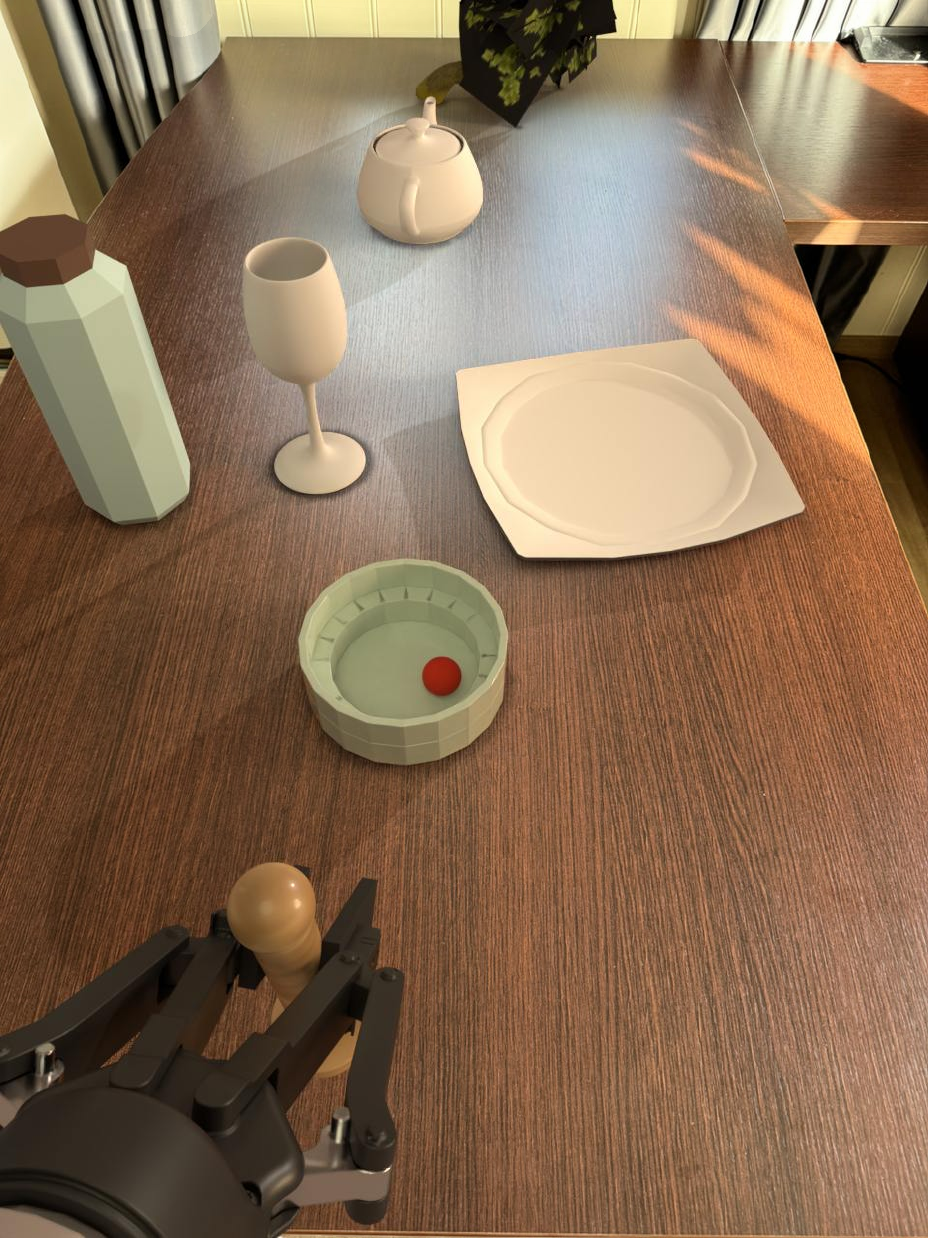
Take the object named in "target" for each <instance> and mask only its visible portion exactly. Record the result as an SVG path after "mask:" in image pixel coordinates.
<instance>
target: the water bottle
mask: <svg viewBox="0 0 928 1238" xmlns="http://www.w3.org/2000/svg"><path fill="white" fill-rule="evenodd" d="M0 270H1V275H0V326H1V328H2V330H3V332H4V335H5V337H6V339H7V341H8V343H9V345H10V347H11V350H12V352H13V354H14V356H15V358H16V360H17V362H18V364H19V367H20V369H21V371H22V373H23V375H24V377H25V379H26V382H27V383H28V386H29V388H30V390H31V392H32V394H33V396H34V398H35V400H36V403H37V405H38V407H39V410H40V411H41V413H42V416H43V418H44V420H45V422H46V425H47V426H48V428H49V430H50V433H51V435H52V437H53V439H54V442H55V444H56V445H57V447H58V450H59V452H60V454H61V456H62V458H63V460H64V463H65V465H66V467H67V470H68V471H69V473H70V475H71V478H72V479H73V483H74V484H75V486H76V488H77V490H78V493H79V495H80V497H81V499H82V501H83V503H84V505H86V506H87V507H89V508H90V509H92V510H94V511H95V512H97V513H98V514H100V515H102V516H104V517H105V518H106V519H108V520H110V521H111V522H113V523H115V524H118V525H120V526H127V525H135V524H142V523H151V522H159V521H160V520H161V519H163V518H164V517H165V516H166V515H168V514H169V513H170V512H172V511H173V510H174V509H175V508H177V507H178V506H179V505H180V504H182V503H183V502H184V501H185V500H186V498H187V497H188V495H189V493H190V483H191V482H190V481H191V463H190V459H189V455H188V453H187V450H186V447H185V443H184V441H183V436H182V434H181V430H180V428H179V424H178V422H177V419H176V415H175V412H174V410H173V407H172V403H171V400H170V397H169V393H168V390H167V387H166V384H165V381H164V379H163V375H162V373H161V368H160V366H159V363H158V360H157V357H156V354H155V350H154V348H153V344H152V341H151V338H150V335H149V333H148V329H147V325H146V323H145V320H144V315H143V313H142V310H141V308H140V305H139V300H138V298H137V295H136V292H135V288H134V284H133V282H132V279H131V277H130V272H129V270H128V267H127V265H125V264H124V263H121V262H120V261H118V260H116V259H115V258H113V257H111V256H109V255H107V254H105V253H103V252H101V251H99V250H97V249H96V246H95V242H94V239H93V236H92V232H91V228H90V225H89V224H88V223H86V222H84V221H81V220H79V219H78V218H75V217H73V216H71V215H68V214H66V213H61V214H59V213H58V214H48V215H37V216H28V217H25V218H24V219H22V220H20V221H18V222H16V223H14V224H12V225H10V226H8V227H7V228H4V229H2V230H0Z"/></svg>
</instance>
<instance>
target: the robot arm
mask: <svg viewBox="0 0 928 1238" xmlns="http://www.w3.org/2000/svg"><path fill="white" fill-rule="evenodd" d="M293 867H295V868H296V869H298V870H299V871H300V872H302V873H303V874H304V875H305V876H306V878H307V879H308V880H309V881H310V876H311V875H310V874H311V867H310V866H305V865H301V864H295V865H294V866H293ZM378 882H379V880H378V879H375V878H369V877H361V878H360V880H359V882H358V883H357V885H356V887H354V889H353V891H352V892H351V894H350V896H349V898H348V899H347V900H346V902H345V904H344V905H343V906H342V908H341V910H340V911H339V913H338V915H337V916H336V918H335V919H334V921H333V922H332V924H331V926H330V927H329V929H328V930H327V932H326V934H325V935H324V937H323V938H322V946H321V958H320V962H319V971H318V973H317V974H316V976H315V977H314V978H313V979H312V980H311V981H310V982H309V983H308V984H307V986H306V987H305V988H304V989H303V990H302V991H301V992H300V993H299V994H298V996H297V997H296V998H295V999H294V1000H293V1001H292V1002H291V1003H290V1004H289V1006H288V1007H287V1008H286V1009H285V1010H284V1011H283V1012H282V1013H281V1014H280V1016H279V1017H278V1018H277V1019H276V1020H275V1021H274V1022H273V1023H272V1025H271V1026H270V1025H269V1027H268V1028H266V1030H265V1031H264V1032H263V1033H261V1032H259V1031H254V1032H252V1033H251V1034H250V1035H249V1036H248V1037H247V1038H246V1039H245V1040H244V1042H243V1043H241V1045H240V1046H239V1047H238V1048H237V1049H236V1050H235V1051H234V1052H233V1054H232V1055H231V1056H229V1058H228V1059H221V1058H219V1059H216V1058H208V1057H206V1056H204V1055H203V1053H204V1052H205V1050H206V1047H207V1045H208V1044H209V1042H210V1039H211V1037H212V1035H213V1033H214V1032H215V1029H216V1027H217V1025H218V1023H219V1021H220V1019H221V1017H222V1015H223V1013H224V1011H225V1009H226V1007H227V1004H228V1003H229V1001H230V999H231V997H232V994H233V993H234V986H235V980H236V979H237V988H242V989H246V990H251V991H256V990H257V989H258V987H259V985H260V984H261V982H262V981H263V980H264V979H265V977H266V975H265V973H264V971H263V969H262V968H261V966H260V964H259V962H258V960H257V958H256V957H255V955H254V953H253V951H252V950H250V949H248V948H246V947H245V946H243V945H242V944H241V943H240V942H239V941H238V940H237V939H236V937H235V936H234V935H233V933H232V931H231V929H230V926H229V924H228V919H227V908H222V909H217V910H213V911H212V913H210V921H209V922H210V923H209V930H208V931H209V932H208V933H207V934H206V936H204V937H203V936H202V937H193V936H192V937H191V930H190V929H189V928H188V927H185V926H183V925H179V924H171V925H168V926H164V927H163V928H160V929H159V930H158V931H157V932H155V933H154V934H152V935H151V936H149V938H147V939H145V941H143V942H142V943H141V944H139V945H137V946H136V947H135V948H134V949H132V950H131V951H130V952H128V953H127V954H126V955H124V956H123V957H122V958H121V959H120V960H118V961H116V963H114V964H112V965H111V966H110V967H109V968H107V969H106V970H105V971H103V972H102V973H100V974H99V975H98V976H96V977H95V978H94V979H92V980H91V981H90V982H89V983H88V984H86V985H84V986H83V987H82V988H80V989H79V990H78V991H77V992H75V993H74V994H73V995H71V996H69V997H68V998H67V999H65V1000H64V1001H63V1002H62V1003H61V1004H59V1005H58V1006H56V1007H55V1008H54V1009H53V1010H51V1011H49V1013H47V1014H46V1015H45V1016H43V1017H42V1018H40V1019H38V1020H35V1021H34V1022H32V1023H29V1024H27V1025H24V1026H21V1027H19V1028H17V1029H15V1030H13V1031H10V1032H8V1033H5V1034H3V1035H1V1036H0V1238H280V1237H281V1236H283V1235H284V1234H285V1233H286V1232H287V1231H288V1230H289V1229H290V1228H291V1226H292V1225H293V1224H294V1222H295V1221H296V1219H297V1217H298V1215H299V1214H300V1210H301V1207H306V1206H315V1205H316V1206H317V1205H324V1204H330V1203H331V1204H332V1203H338V1202H339V1203H340V1202H343V1204H344V1208H345V1212H346V1214H347V1215H348V1217H349V1218H350V1220H352V1221H353V1222H355V1223H357V1224H359V1225H364V1226H372V1225H375V1224H378V1223H380V1222H381V1221H382V1220H383V1219H385V1216H386V1215H387V1213H388V1205H389V1198H390V1191H391V1185H392V1176H393V1169H394V1162H395V1154H396V1148H397V1140H398V1134H397V1133H398V1132H397V1129H396V1126H395V1123H394V1120H393V1117H392V1114H391V1111H390V1109H389V1105H388V1103H387V1100H386V1099H387V1094H388V1090H389V1089H388V1088H389V1082H390V1077H391V1072H392V1065H393V1059H394V1055H395V1049H396V1043H397V1037H398V1030H399V1023H400V1015H401V1009H402V1003H403V1002H402V1001H403V994H404V993H403V992H404V986H405V978H406V977H405V973H404V972H403V971H402V970H401V969H398V968H397V967H392V966H382V967H379V968H377V967H378V963H379V962H378V961H379V954H380V947H381V939H382V933H381V929H380V928H379V927H374V926H373V919H374V912H375V904H376V896H377V889H378ZM376 968H377V969H376ZM356 1020H358V1021H360V1022H361V1026H360V1030H359V1034H358V1038H357V1042H356V1046H355V1050H354V1054H353V1058H352V1062H351V1066H350V1068H349V1069H348V1074H347V1077H346V1078H347V1079H346V1084H345V1092H344V1100H343V1106H339V1107H336V1108H335V1109H333V1111H332V1113H331V1119H330V1120H331V1121H330V1122H329V1123H328V1124H325V1125H324V1126H323V1127H322V1128H321V1129H320V1131H319V1136H318V1141H317V1142H316V1143H315V1145H313V1146H312V1147H311V1148H309V1149H306V1150H302V1148H301V1145H300V1143H299V1141H298V1138H297V1136H296V1135H295V1134H296V1133H295V1132H294V1130H293V1127H292V1126H291V1123H290V1121H289V1118H288V1116H287V1113H288V1111H289V1110H290V1109H291V1108H292V1106H293V1105H294V1103H295V1102H296V1100H298V1098H299V1097H300V1095H301V1094H302V1092H304V1090H305V1088H306V1087H307V1086H308V1084H309V1083H310V1081H312V1079H313V1078H312V1077H313V1076H314V1075H315V1073H316V1072H317V1071H318V1069H319V1068H320V1066H321V1065H322V1064H323V1062H324V1061H325V1060H326V1058H327V1057H328V1056H329V1054H330V1053H331V1052H332V1050H333V1049H334V1047H335V1046H336V1045H337V1043H338V1042H339V1041H340V1039H341V1038H342V1037H343V1035H344V1034H347V1033H348V1032H351V1036H354V1032H355V1024H356ZM135 1037H136V1038H135ZM134 1038H135V1039H134ZM133 1039H134V1041H133V1043H131V1046H130V1047H129V1049H128V1051H127V1052H126V1053H123V1052H122V1055H120V1057H119V1058H118V1060H117V1061H115V1062H112V1063H110V1064H107V1065H105V1064H106V1063H107V1062H108V1061H109V1060H110V1059H111V1058H113V1057H114V1056H115V1055H116V1054H117V1053H118V1052H120V1050H122V1049H123V1048H124V1047H125V1046H126V1045H127V1044H128V1043H130V1041H131V1040H133Z"/></svg>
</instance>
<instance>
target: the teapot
mask: <svg viewBox="0 0 928 1238" xmlns="http://www.w3.org/2000/svg"><path fill="white" fill-rule="evenodd" d="M436 107H437V105H436V100H435V98H434V97H428V98H427V99H426V100H425V101H424V103H423V110H422V116H421V117H412V118H409V119H407V120H406V121H405V123H403V124H397V125H395V126H391V127H388V128H386V129H384V130H382V131H381V132H378V133H377V134H376V135H375V136H374V137H373V138H372V139H371V141H370V143H369V145H368V148H367V151H366V153H365V156H364V160H363V162H362V165H361V168H360V172H359V175H358V180H357V181H358V182H357V188H356V201H357V205H358V209H359V211H360V214H361V215H362V217H363V218H364V219H365V221H366V222H367V223H368V224H369V225H370V226H372V227H373V228H374V229H375V230H376V231H378V232H380V233H381V234H382V235H384V236H385V237H387V238H389V239H390V240H393V241H396V242H399V243H404V244H412V245H428V244H436V243H437V244H438V243H442V242H444V241H447V240H450V239H453V238H454V237H456V236H458V235H459V234H461V232H462V231H463V230H464V229H466V228H468V226H470V224H471V223H472V222H474V220H475V219H476V218H477V217H478V215H479V213H480V210H481V208H482V206H483V201H484V189H483V181H482V176H481V174H480V171H479V168H478V166H477V163H476V161H475V158H474V155H473V153H472V151H471V149H470V146H469V144H468V143H467V141H466V139H465V137H464V136H463V135H462V134H461V133H460V132H458V131H456V129H453V128H451V127H448V126H444V125H441V124H438V123H437V116H436V115H437V114H436Z"/></svg>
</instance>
